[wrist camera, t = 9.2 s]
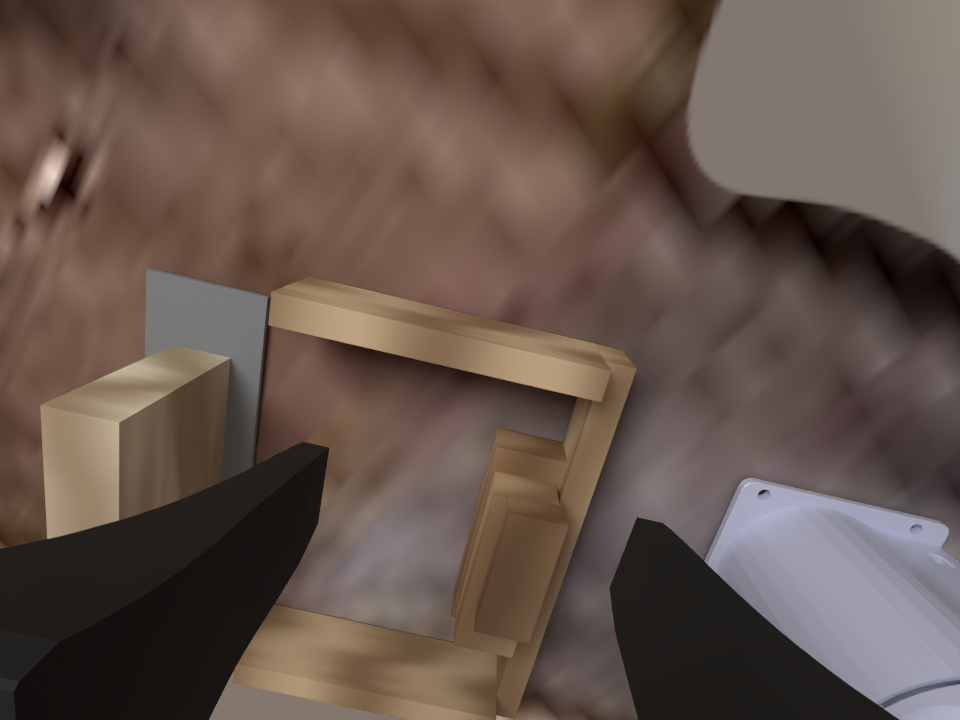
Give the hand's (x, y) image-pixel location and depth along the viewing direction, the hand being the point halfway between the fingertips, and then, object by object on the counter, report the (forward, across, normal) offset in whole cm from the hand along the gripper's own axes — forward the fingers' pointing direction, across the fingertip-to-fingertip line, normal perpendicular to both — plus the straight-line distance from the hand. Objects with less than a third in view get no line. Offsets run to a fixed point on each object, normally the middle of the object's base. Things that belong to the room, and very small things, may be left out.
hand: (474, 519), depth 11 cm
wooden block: (+10, +12, +7) cm, 17 cm away
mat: (+10, +12, +7) cm, 17 cm away
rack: (+10, +2, +7) cm, 13 cm away
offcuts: (+10, -2, +7) cm, 13 cm away
